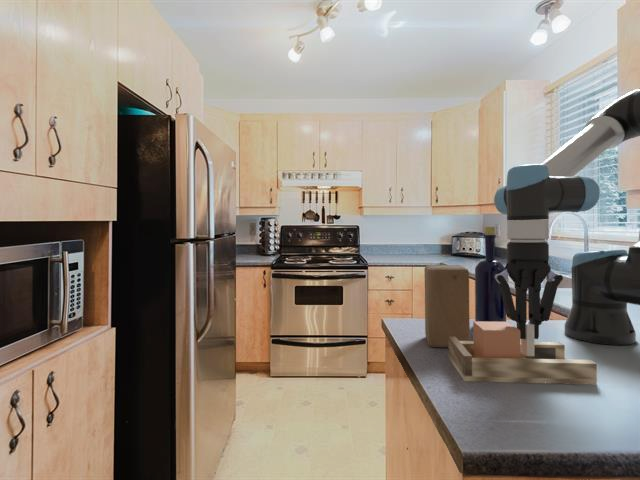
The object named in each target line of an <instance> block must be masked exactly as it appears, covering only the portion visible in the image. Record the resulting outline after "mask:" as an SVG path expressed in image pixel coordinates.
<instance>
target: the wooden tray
mask: <svg viewBox="0 0 640 480" xmlns="http://www.w3.org/2000/svg"><path fill="white" fill-rule="evenodd" d="M565 347H566V346H565V344H564V343H561V342H560V341H554V342H553V341H534V356H526V355H525V354H523V353H522V352H521V341H520V356H521V359H516V358H474V341H473V340H470V341H459V340H458V339H457V338H456V337H454V336H449V348H448V359H449V360H450V363H452V365H453V366H454V368H455V369H456V371H457V373H458V374H459V376H460V377H461V378H462V380H463V381H464V382H475V383H476V382H477V383H478V382H479V383H480V382H484V383H513V382H522V384H551V383H569V384H568V385H591V386H592V385H597V382H598V378H597V377H598V375H597V373H598V372H597V370H598V369H597V368H598V367H597V366H598V365H597V364H598V363H596V362H595V361H593V360H591V359H569V358H568V359H566V358H565V357H566V356H565V349H566V348H565ZM545 382H546V383H545Z"/></svg>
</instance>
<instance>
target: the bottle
mask: <svg viewBox="0 0 640 480" xmlns="http://www.w3.org/2000/svg"><path fill="white" fill-rule="evenodd" d="M495 231H496V228H495V226H484V235H483V239H484V248H485V253H484V254H485V259H483V260H480V261H479V262H478V263H476V265H475V266H474V292H475V293H474V295H475V296H474V297H475V299H474V303H475V305H474V308H475V309H474V312H475V315H474V319H475V321H484V322H507V315H506V311H505V307H504V303H503V299H502V296H501V292H500V288H499V284H498V283H497V282H496V280H495V279H494V275H495V274H499V273H501V272H503V271H504V270H505V266H504V265H503V263H502V262H501V261H499V260H497V259H495V256H496V255H495V251H496V249H495V246H496V238H497V236H496V232H495Z"/></svg>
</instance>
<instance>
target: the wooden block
mask: <svg viewBox="0 0 640 480" xmlns="http://www.w3.org/2000/svg"><path fill="white" fill-rule="evenodd" d="M423 269H424V331H425V332H424V334H425V338H426V342H427V344H428V346H429V347H431V348H448V349H449V336H454V337H456V338H457V339H458V340H459V341H471V340H470V337H471V335H470V333H471V332H470V331H471V330H470V327H471V326H470V324H471V323H470V271H469V269H468V268H466V267H464V266H463V265H460V264H427V265H425V266H424V268H423Z"/></svg>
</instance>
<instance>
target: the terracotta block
mask: <svg viewBox="0 0 640 480" xmlns="http://www.w3.org/2000/svg"><path fill="white" fill-rule="evenodd" d="M472 323H473V327H472V328H473V340H472V341H474V358H516V359H521V356H520V342H521V339H520V330H519V329H517V326H516V327H515V326H514V325H513V324H511V323H509V322H508V321H506V322H484V321H474V320H473V322H472Z"/></svg>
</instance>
